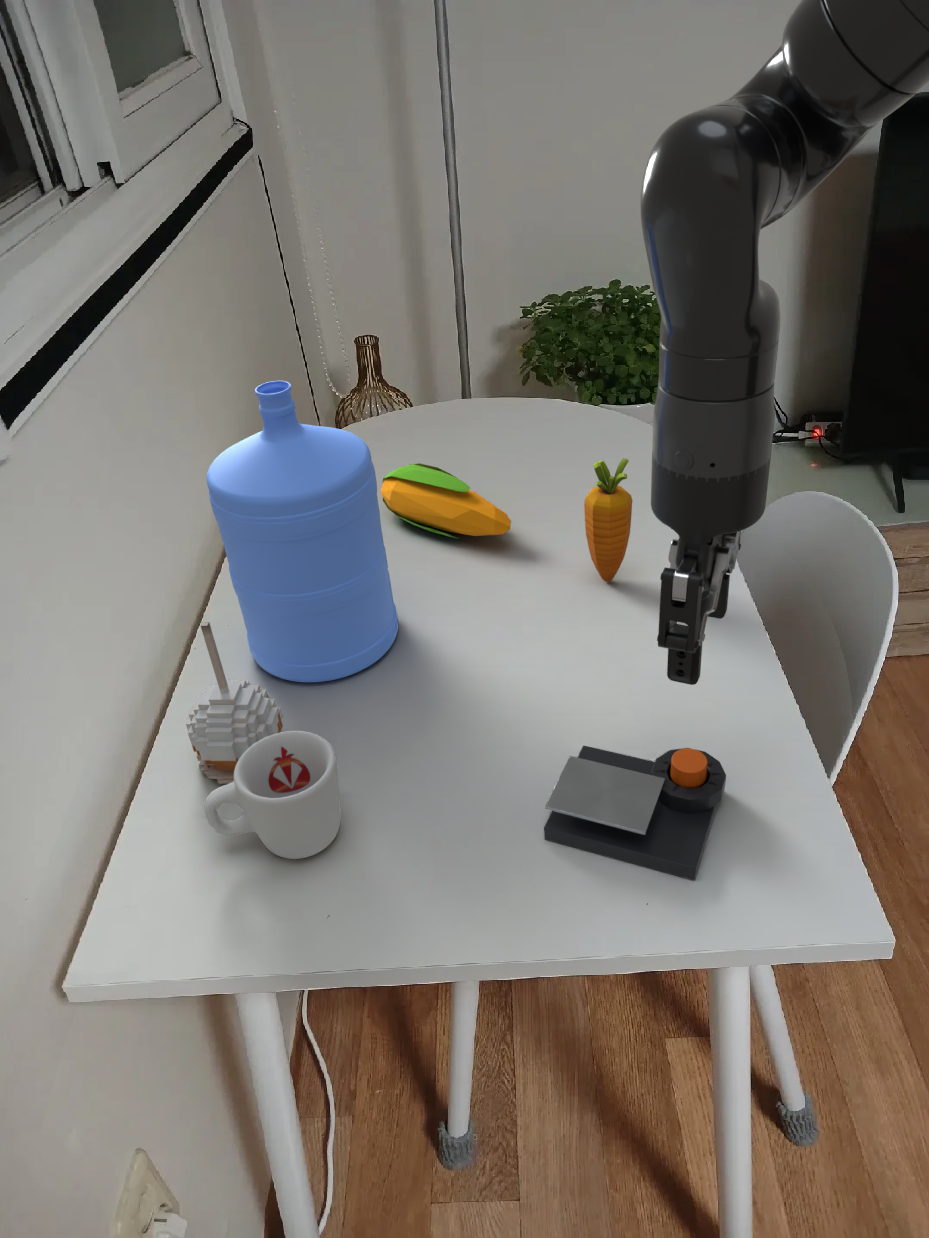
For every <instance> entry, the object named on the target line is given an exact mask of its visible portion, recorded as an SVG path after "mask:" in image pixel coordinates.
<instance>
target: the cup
mask: <svg viewBox="0 0 929 1238" xmlns="http://www.w3.org/2000/svg"><path fill="white" fill-rule="evenodd" d="M338 774H339V773H338V763H337V757H336V752H335V750H334V748H333V746H332V744H330V742H329V741H328V740H326V738H324V737H323V736H321V735H319V734H316V733H314V732H310V731H305V730H286V731H283V732H280V733H276V734H273V735H270V736H268V737H265V738H263V739H261V740H259V741H258V742H256V743H254V744H253V745H252V746H251V747H249V748H248V749H247V750H246V751H245V752H244V753H243V754H242V756H241V757H240V758H239V760H238V762H237V764H236V766H235V770H234V781H233V782H231V783H225V784H224V785H222V786H219V787H217V788H215V789H213V790H212V791H211V792H210V793H209V794H208V795H207V797H206V799H205V802H204V812H205V813H204V814H205V816H206V819H207V822H208V824H209V825H210V827H211V828H212V829H213V831H215V832H217V833H218V834H219V835H223V836H236V835H241V834H245V833H250V832H252V833H255V834H256V835H257V837H259V839H260V840H261V842H262V843H263V845H264V847H266V848H267V850H269V851H270V852H271V853H272V854H274V855H276V856H278V857H281V858H283V859H289V860H299V859H304V858H309V857H312V856H315V855H316V854H318V853H320V852H322V851H323V850H324V849H326V848H327V847H329V845H330V844H331V843H332V842H333V841H334V840H335V838H336V837H337V835H338V832H339V831H340V826H341V820H342V819H341V816H342V814H341V813H342V811H341V800H340V787H339V775H338ZM227 803H232V804H235V805H237V806H238V807H239V808H240V809H241V810H242V814H241V816H240V817H238V818H235V819H233V820H232V819H231V820H227V819H225V818H223V817H221V816H220V815H219V813H218V811H217V808H219V806H220V805H222V804H227Z"/></svg>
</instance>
